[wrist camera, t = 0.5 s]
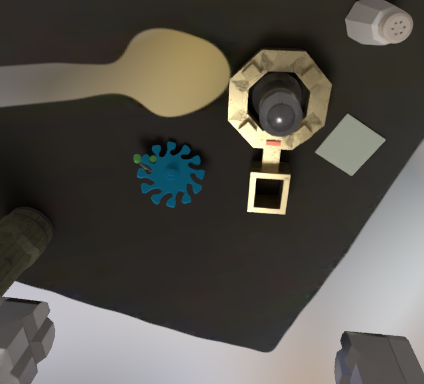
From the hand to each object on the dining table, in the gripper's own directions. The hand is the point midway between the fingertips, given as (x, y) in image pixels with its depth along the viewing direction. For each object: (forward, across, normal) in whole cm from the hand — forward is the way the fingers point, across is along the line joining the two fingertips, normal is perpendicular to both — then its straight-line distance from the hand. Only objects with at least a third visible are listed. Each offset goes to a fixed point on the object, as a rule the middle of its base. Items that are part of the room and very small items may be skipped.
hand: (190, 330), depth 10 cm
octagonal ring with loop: (+44, -5, +9) cm, 45 cm away
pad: (+44, -16, +10) cm, 48 cm away
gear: (+45, +10, +15) cm, 48 cm away
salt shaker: (+44, -15, -6) cm, 47 cm away
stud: (+44, -5, +4) cm, 45 cm away
